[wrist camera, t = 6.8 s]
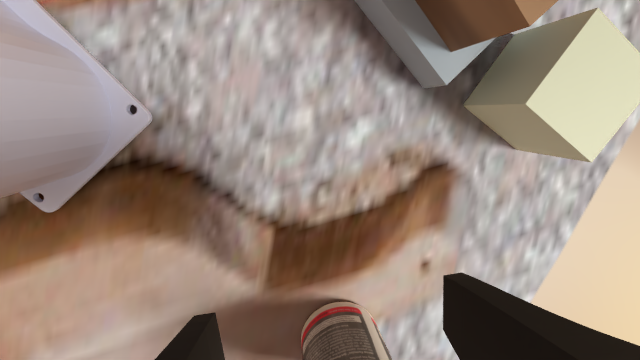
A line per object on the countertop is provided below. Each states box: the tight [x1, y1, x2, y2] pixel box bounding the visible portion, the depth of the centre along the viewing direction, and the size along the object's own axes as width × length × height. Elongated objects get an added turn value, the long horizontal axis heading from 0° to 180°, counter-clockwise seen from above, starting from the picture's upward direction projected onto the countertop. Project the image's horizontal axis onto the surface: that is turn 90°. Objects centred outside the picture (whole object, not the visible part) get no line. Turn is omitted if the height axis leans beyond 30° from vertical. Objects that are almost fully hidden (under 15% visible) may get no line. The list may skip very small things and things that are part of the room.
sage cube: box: [463, 8, 640, 162], centre depth 17 cm, size 5×5×5 cm
